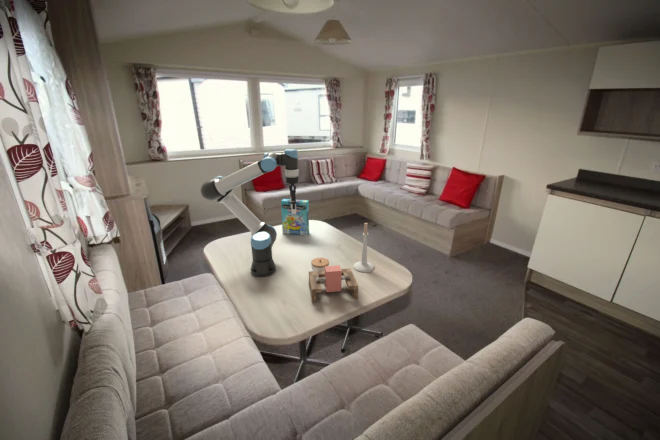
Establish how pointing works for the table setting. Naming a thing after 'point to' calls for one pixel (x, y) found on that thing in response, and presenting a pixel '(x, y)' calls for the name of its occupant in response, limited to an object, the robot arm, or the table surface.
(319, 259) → the lidded jar
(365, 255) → the candlestick
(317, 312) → the table surface
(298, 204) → the game box
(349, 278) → the wooden frame with rod
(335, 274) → the salmon red channel block
